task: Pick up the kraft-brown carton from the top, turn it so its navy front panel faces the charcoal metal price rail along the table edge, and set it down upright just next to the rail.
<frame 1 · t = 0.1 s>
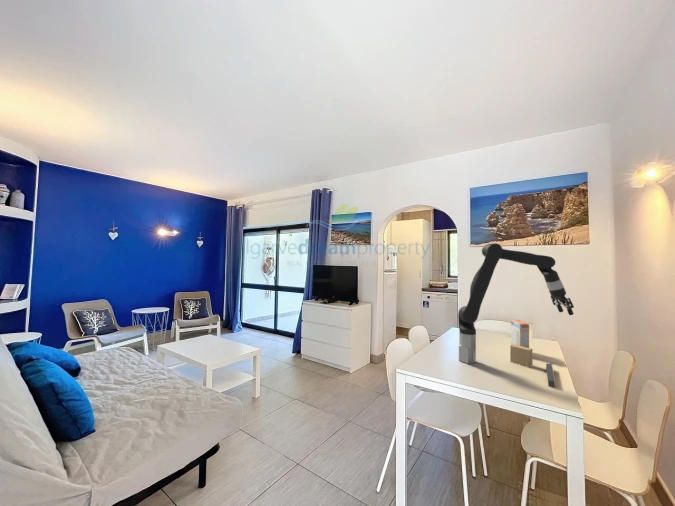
hand: (566, 313, 165), 31 cm above the table, tool tilted 20°, fingers open, 8 cm apart
carton: (521, 363, 167), on the table
price rail: (550, 377, 148), on the table
cracker box: (519, 352, 188), on the table
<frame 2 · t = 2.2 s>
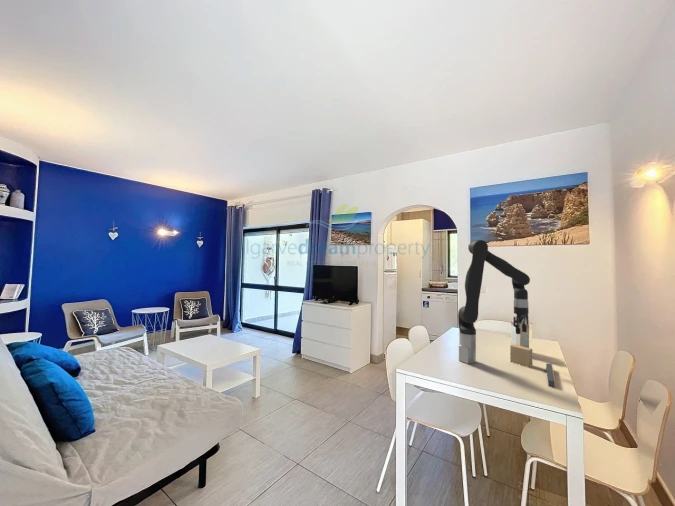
hand: (521, 332, 168), 19 cm above the table, tool pointing down, fingers open, 8 cm apart
nothing on the table moved.
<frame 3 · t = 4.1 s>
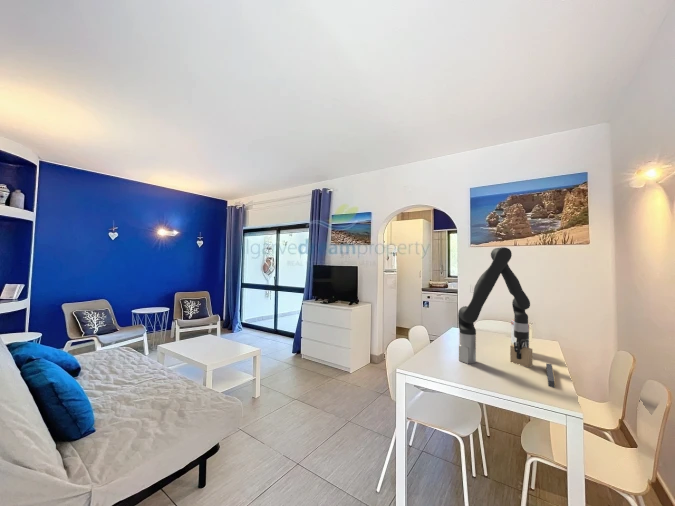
hand: (521, 357, 167), 3 cm above the table, tool pointing down, fingers closed on carton, 5 cm apart
carton: (521, 363, 167), on the table, touching gripper
everything else where it was.
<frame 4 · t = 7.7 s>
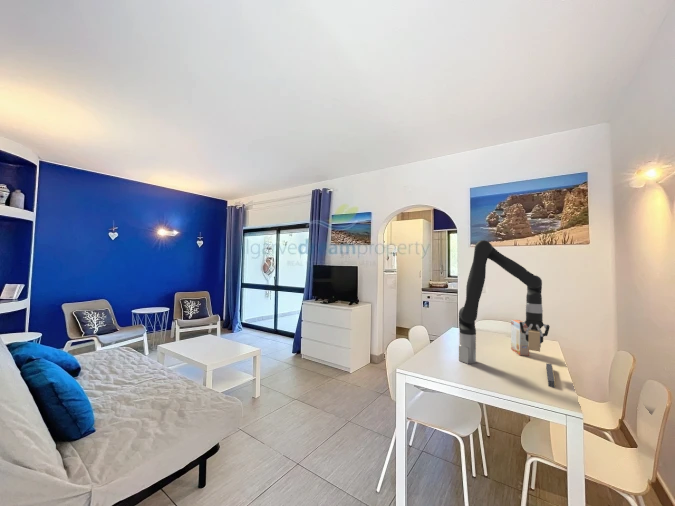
hand: (534, 341, 153), 18 cm above the table, tool pointing down, fingers closed on carton, 5 cm apart
carton: (534, 348, 153), point 14 cm above the table, touching gripper
everything else where it was.
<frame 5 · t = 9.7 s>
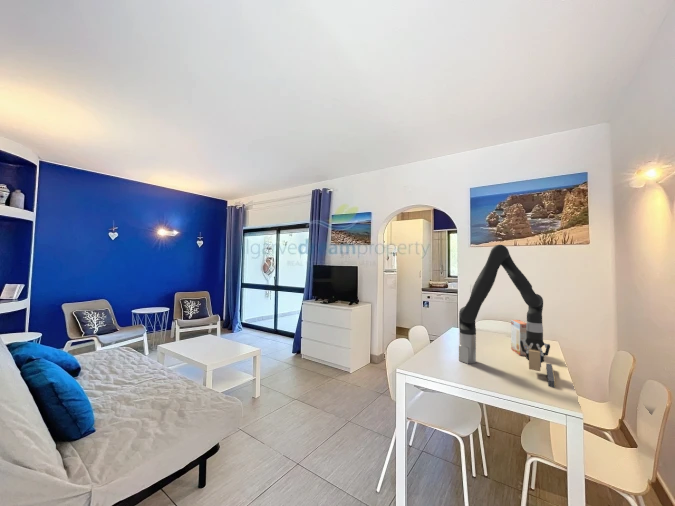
hand: (534, 361, 152), 7 cm above the table, tool pointing down, fingers closed on carton, 5 cm apart
carton: (534, 367, 152), point 4 cm above the table, touching gripper
everything else where it was.
when the fingers open (5 cm above the table, at t = 11.1 s): carton drops 1 cm, on the table.
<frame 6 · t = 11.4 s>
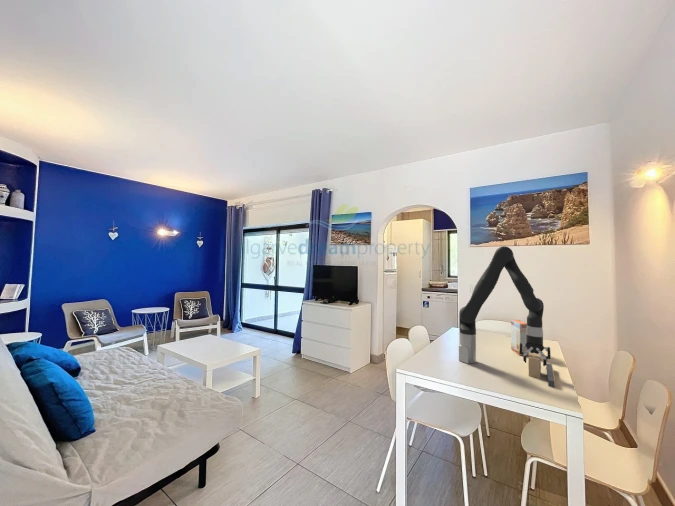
hand: (534, 364, 152), 6 cm above the table, tool pointing down, fingers open, 8 cm apart
carton: (534, 374, 152), on the table
everything else where it was.
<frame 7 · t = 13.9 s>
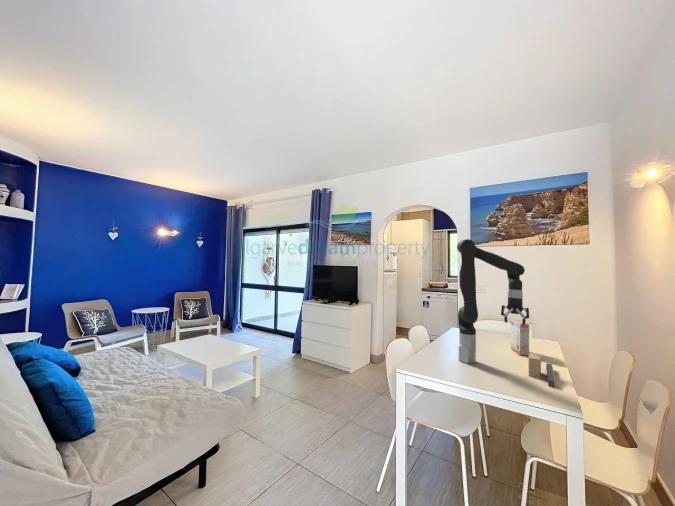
hand: (514, 323, 166), 24 cm above the table, tool pointing down, fingers open, 8 cm apart
nothing on the table moved.
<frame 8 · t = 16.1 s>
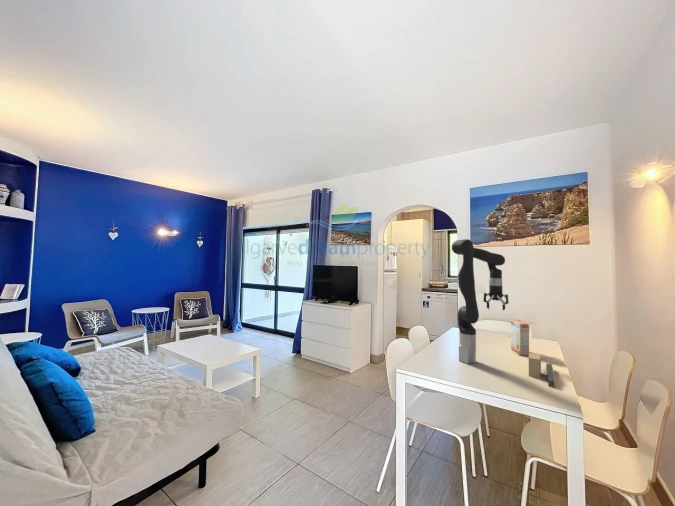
hand: (495, 309, 182), 30 cm above the table, tool pointing down, fingers open, 8 cm apart
nothing on the table moved.
at the end: carton inside the target area (0.2 cm from its centre), on the table; carton tilted 0°; the gripper is holding nothing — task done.
